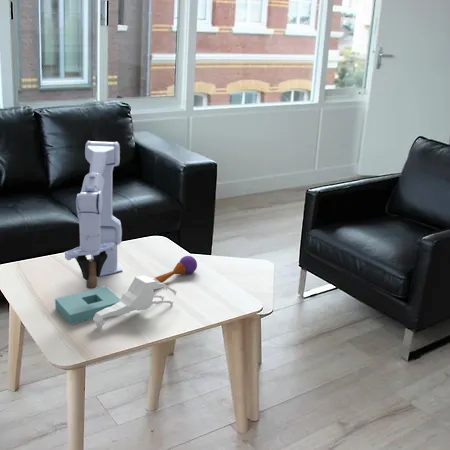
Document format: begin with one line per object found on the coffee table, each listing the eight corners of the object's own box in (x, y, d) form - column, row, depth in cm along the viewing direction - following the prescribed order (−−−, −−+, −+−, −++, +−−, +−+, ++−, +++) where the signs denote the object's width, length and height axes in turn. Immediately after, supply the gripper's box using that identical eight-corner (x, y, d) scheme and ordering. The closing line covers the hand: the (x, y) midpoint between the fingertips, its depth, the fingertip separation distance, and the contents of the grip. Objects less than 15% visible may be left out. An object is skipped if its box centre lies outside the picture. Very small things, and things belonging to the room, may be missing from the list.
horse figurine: (152, 328, 194) (86, 325, 175) (169, 278, 192) (104, 269, 173) (162, 335, 190) (96, 332, 172) (179, 283, 189) (115, 276, 170)
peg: (84, 285, 183) (83, 260, 180) (94, 283, 185) (93, 258, 182) (89, 289, 181) (88, 264, 178) (98, 287, 182) (98, 262, 180)
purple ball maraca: (142, 274, 199) (186, 252, 213) (146, 291, 201) (189, 268, 215) (155, 277, 196) (199, 254, 210) (159, 294, 197) (201, 271, 211)
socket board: (55, 307, 184) (55, 298, 183) (106, 295, 193) (105, 286, 192) (70, 324, 176) (70, 315, 175) (122, 310, 185) (122, 301, 184)
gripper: (71, 243, 170) (73, 288, 175) (120, 233, 178) (120, 277, 183) (61, 234, 175) (63, 278, 180) (109, 225, 183) (109, 268, 188)
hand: (91, 277), depth 182 cm, fingers closed on peg, 3 cm apart
